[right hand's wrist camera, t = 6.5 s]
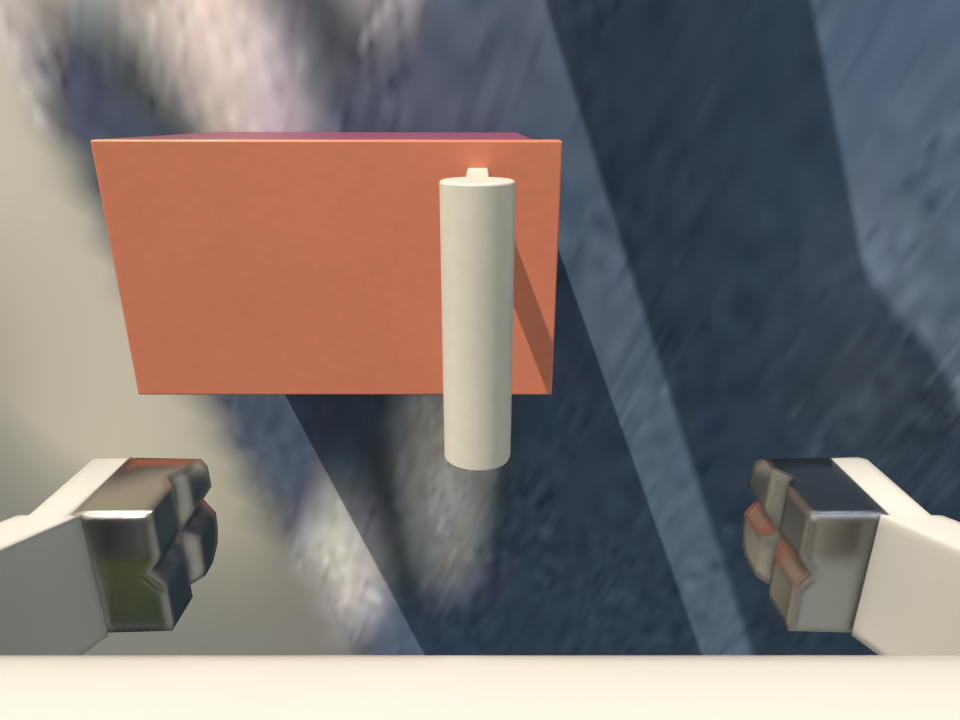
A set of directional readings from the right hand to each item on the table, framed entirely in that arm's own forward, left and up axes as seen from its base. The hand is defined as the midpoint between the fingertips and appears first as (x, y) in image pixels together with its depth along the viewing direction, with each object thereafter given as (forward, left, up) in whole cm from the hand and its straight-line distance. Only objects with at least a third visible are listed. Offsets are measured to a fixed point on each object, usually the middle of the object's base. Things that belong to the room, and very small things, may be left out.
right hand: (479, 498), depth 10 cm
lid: (+2, +5, -16) cm, 17 cm away
